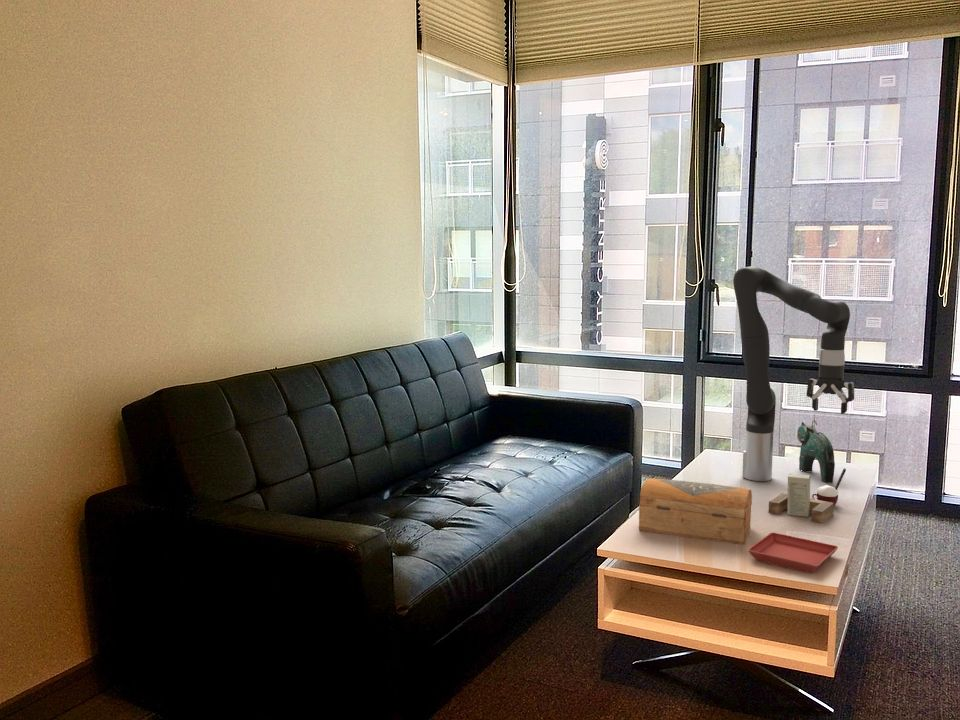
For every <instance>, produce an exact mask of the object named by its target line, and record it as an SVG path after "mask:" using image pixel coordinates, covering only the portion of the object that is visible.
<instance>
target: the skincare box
mask: <svg viewBox="0 0 960 720" xmlns="http://www.w3.org/2000/svg"><path fill="white" fill-rule="evenodd" d="M787 494H788V504H787V508H786V509H787V515H788V516H794V517H796V516H798V517H804V518H808V517H809V516H810V513H811V512H810V499H811V475H810V474H809V475H808V474H800V473H799V474H798V473H789V474H788V476H787Z"/></svg>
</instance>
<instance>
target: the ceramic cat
mask: <svg viewBox="0 0 960 720" xmlns="http://www.w3.org/2000/svg"><path fill="white" fill-rule="evenodd" d="M814 423H815V425H816V426H818V423H817V421H816V420H815V419H813V420H812V422H811V425H807V424H805V422H803V421H802V422H801V425H800V426H799V427H798V428H797V436H796V439H797V440H798V441H799V442H800V443H801V445H800V451H799V457H798V460H799V465H798V467H799V468H798V470H799V469H800V470H799V471H801V470H802V471H801V472H803V471H812V472H813V465H814V461H815V459H816V460H817V462H818V465H819V469H820V470H819V472H820V479H821V483H825V484H830V483H831V484H832V483H833V482H834V476H835V468H836V463H835V452H834V448H833V445H832V443H831V440H830V439H829V437H827V435H825V433H823V432H818V431H817V429H816V427H815V426H814V425H813V424H814ZM829 482H830V483H829Z"/></svg>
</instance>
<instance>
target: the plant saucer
mask: <svg viewBox="0 0 960 720" xmlns="http://www.w3.org/2000/svg"><path fill="white" fill-rule="evenodd" d="M838 548H839V546H838V545H834V544H829V543H824V542H820V541H816V540H815V541H814V540H811V539H806V538H803V537H802V538H801V537H796V536H792V535H789V534H788V535H786V534H782V533H777V532H769V534H767V535H766V536H764V537H763V538H762V539H761V540H759V541H758V542H756V543H754V545H752V546H751V547H749V548H748V549H747V551H748V552H749V553H750V555H751V556H752V557H753V558H754V559H755V560H756V561H759V562H763V563H768V564H770V565H775V566H780V567H784V568H788V569H792V570H797V571H801V572H805V573H809V574H812V573H814V572H815V571H816V570H818V568H820V567H821V566H822V565H823V564H824V563H826V561H827V560H828V559H830V558H831V557H832V555H834V554H835V552H836V551H837V550H838Z"/></svg>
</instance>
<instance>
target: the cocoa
mask: <svg viewBox="0 0 960 720" xmlns="http://www.w3.org/2000/svg"><path fill="white" fill-rule="evenodd" d="M846 471H847V469H846V468H845V467H844V468H843V469H842V471H841V473H840V476H839V477H838V480H837V483H836V484H835V486H834V487H833V486H831V485H828V484H827V485H826V484H825V485H822V486H819V487H817V489H816V492H817V493H813V494H812V495H811V496H812V498H811V499H815V496H816V498H817V499H816V500H821V501H827V502H832V503H834V506H835V505H836V504H837V503H838V499H839V487H840V484H841V482H842V480H843V477H844V476H845V474H846Z"/></svg>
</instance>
